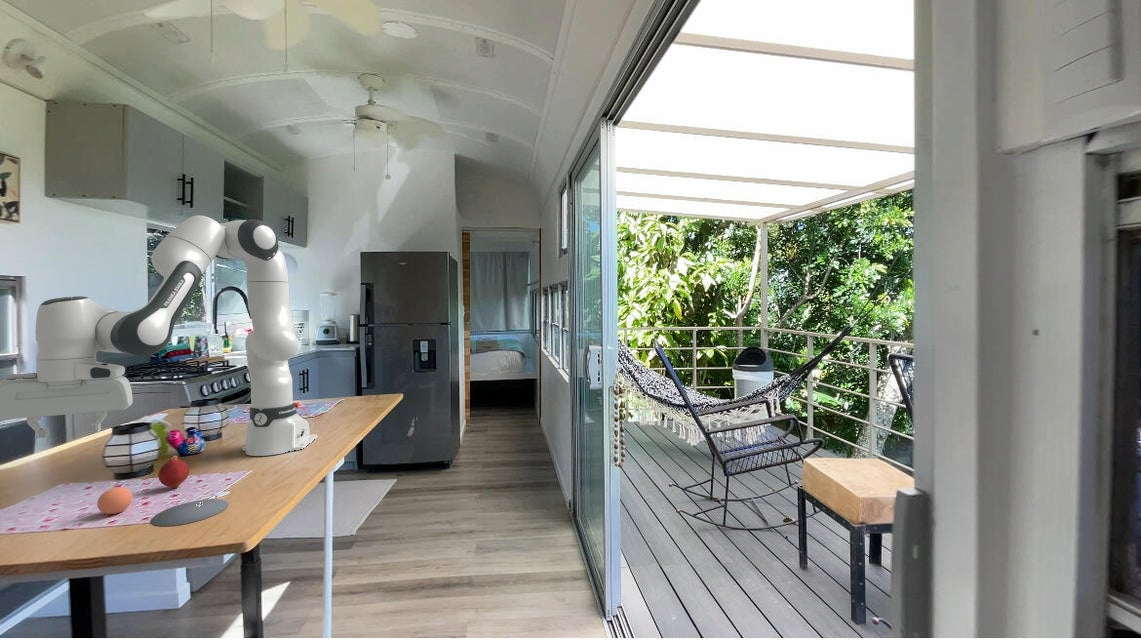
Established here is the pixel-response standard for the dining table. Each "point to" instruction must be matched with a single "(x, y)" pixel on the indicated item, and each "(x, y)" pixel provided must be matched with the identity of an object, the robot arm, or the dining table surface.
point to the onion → (173, 472)
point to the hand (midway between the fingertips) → (69, 434)
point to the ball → (114, 500)
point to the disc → (189, 512)
